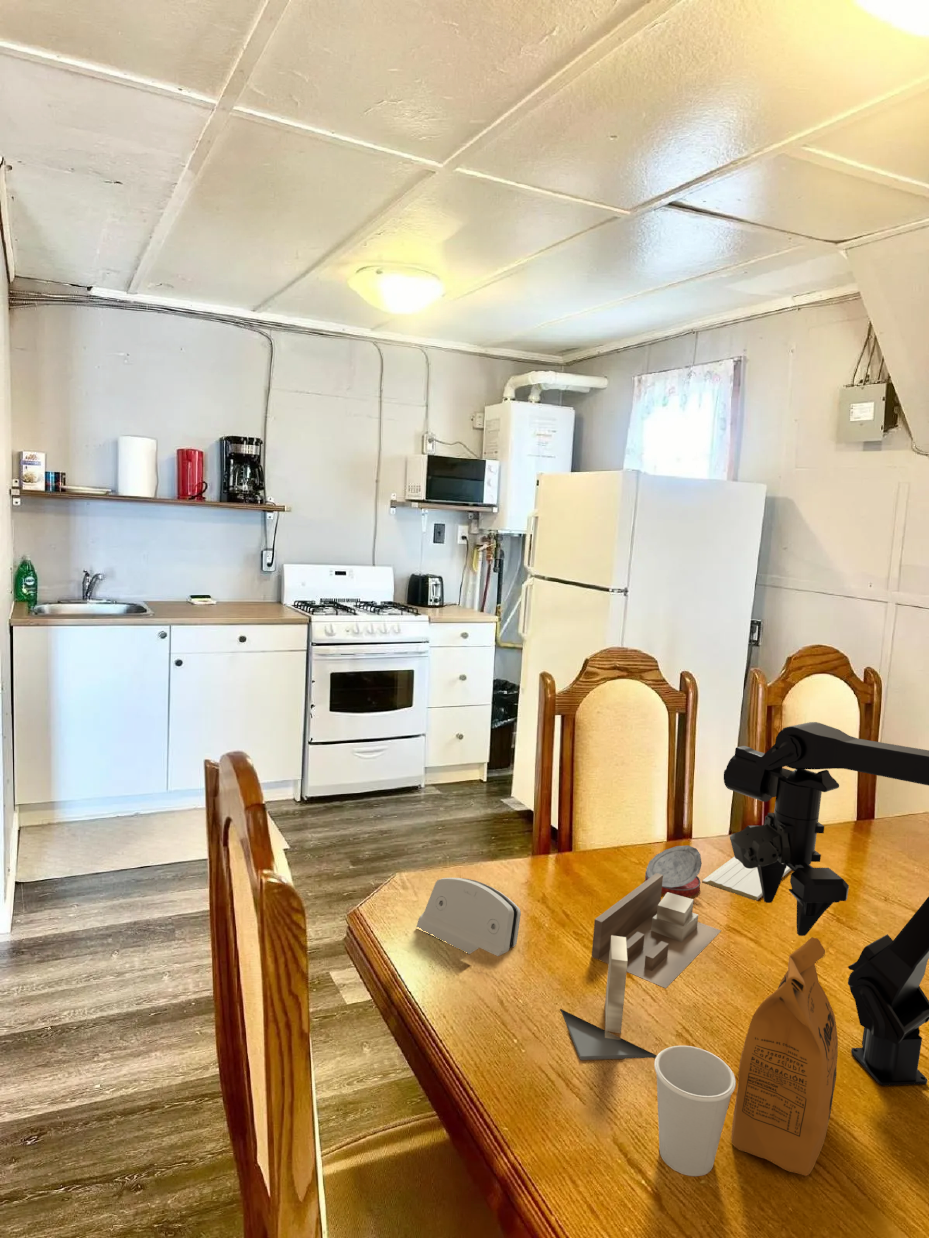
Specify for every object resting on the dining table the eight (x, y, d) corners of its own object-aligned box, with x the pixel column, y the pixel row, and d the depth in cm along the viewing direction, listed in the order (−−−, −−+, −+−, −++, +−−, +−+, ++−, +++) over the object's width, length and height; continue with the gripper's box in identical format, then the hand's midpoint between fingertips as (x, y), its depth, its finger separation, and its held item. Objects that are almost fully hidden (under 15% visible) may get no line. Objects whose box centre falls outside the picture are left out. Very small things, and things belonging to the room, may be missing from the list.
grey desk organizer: (720, 938, 133) (725, 895, 132) (664, 997, 116) (669, 948, 115) (652, 913, 140) (656, 872, 139) (590, 965, 123) (594, 919, 122)
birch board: (619, 1012, 111) (625, 937, 109) (620, 1039, 105) (627, 960, 104) (604, 1010, 111) (611, 935, 110) (604, 1037, 105) (611, 958, 104)
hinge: (414, 927, 131) (430, 866, 132) (431, 926, 135) (447, 867, 136) (497, 968, 121) (514, 900, 122) (513, 965, 125) (530, 900, 126)
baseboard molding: (694, 882, 155) (756, 904, 147) (695, 868, 155) (758, 889, 147) (754, 838, 179) (810, 855, 171) (756, 825, 178) (812, 842, 171)
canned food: (695, 926, 146) (708, 893, 141) (639, 912, 148) (650, 879, 142) (695, 875, 155) (707, 842, 150) (642, 863, 157) (653, 829, 151)
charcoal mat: (671, 1056, 103) (672, 1053, 103) (580, 1059, 102) (580, 1056, 101) (639, 999, 115) (640, 996, 115) (557, 1001, 113) (557, 998, 113)
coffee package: (842, 1127, 93) (866, 947, 90) (811, 1195, 83) (836, 996, 80) (755, 1085, 99) (775, 916, 96) (717, 1144, 89) (737, 958, 86)
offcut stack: (697, 926, 134) (700, 901, 133) (681, 942, 128) (684, 916, 128) (666, 915, 137) (668, 890, 136) (649, 929, 132) (652, 904, 131)
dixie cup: (694, 1118, 93) (702, 1038, 91) (743, 1175, 85) (753, 1088, 84) (631, 1135, 90) (639, 1052, 88) (676, 1195, 82) (686, 1105, 81)
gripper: (712, 788, 120) (702, 887, 122) (775, 839, 102) (762, 955, 104) (782, 789, 122) (771, 887, 124) (857, 840, 103) (842, 953, 106)
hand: (783, 918), depth 114 cm, fingers open, 9 cm apart
